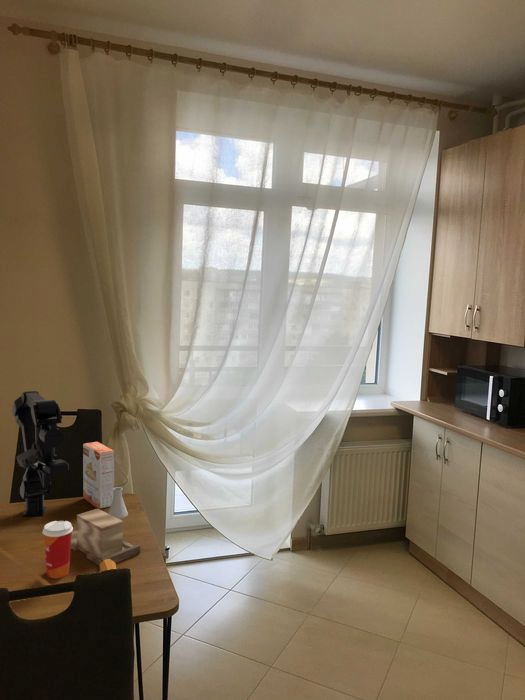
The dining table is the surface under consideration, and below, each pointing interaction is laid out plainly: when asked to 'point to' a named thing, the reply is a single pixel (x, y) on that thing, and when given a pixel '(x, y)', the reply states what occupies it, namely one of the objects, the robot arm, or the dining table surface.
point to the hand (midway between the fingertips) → (45, 487)
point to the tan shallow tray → (117, 557)
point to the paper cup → (57, 548)
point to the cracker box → (98, 474)
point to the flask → (118, 504)
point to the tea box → (99, 533)
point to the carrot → (107, 565)
